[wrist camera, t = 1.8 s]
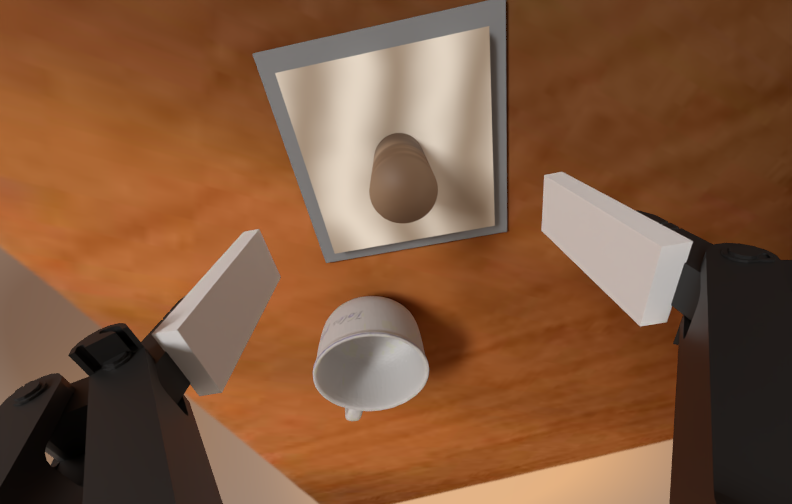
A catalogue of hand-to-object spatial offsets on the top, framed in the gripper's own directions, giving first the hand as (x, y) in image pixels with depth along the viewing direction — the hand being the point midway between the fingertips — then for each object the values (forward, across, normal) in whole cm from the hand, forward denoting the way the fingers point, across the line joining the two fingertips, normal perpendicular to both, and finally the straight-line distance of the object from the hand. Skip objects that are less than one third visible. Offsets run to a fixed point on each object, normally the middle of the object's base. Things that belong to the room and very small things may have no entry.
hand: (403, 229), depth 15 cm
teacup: (+14, -7, -19) cm, 24 cm away
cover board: (+14, 0, 0) cm, 14 cm away
